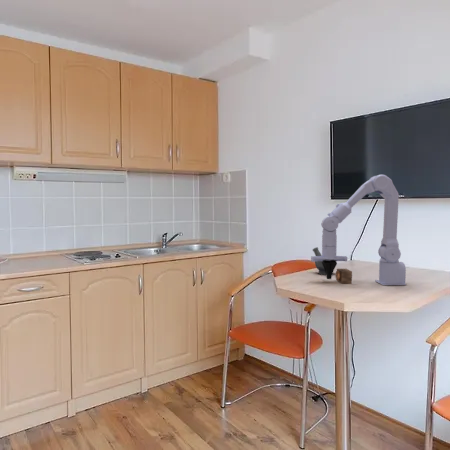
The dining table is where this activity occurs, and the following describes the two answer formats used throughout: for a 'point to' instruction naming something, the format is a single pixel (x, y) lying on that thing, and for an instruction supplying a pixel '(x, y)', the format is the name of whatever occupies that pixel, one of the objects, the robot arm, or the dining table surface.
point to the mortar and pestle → (319, 262)
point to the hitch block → (345, 276)
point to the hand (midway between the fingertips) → (328, 278)
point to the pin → (338, 275)
